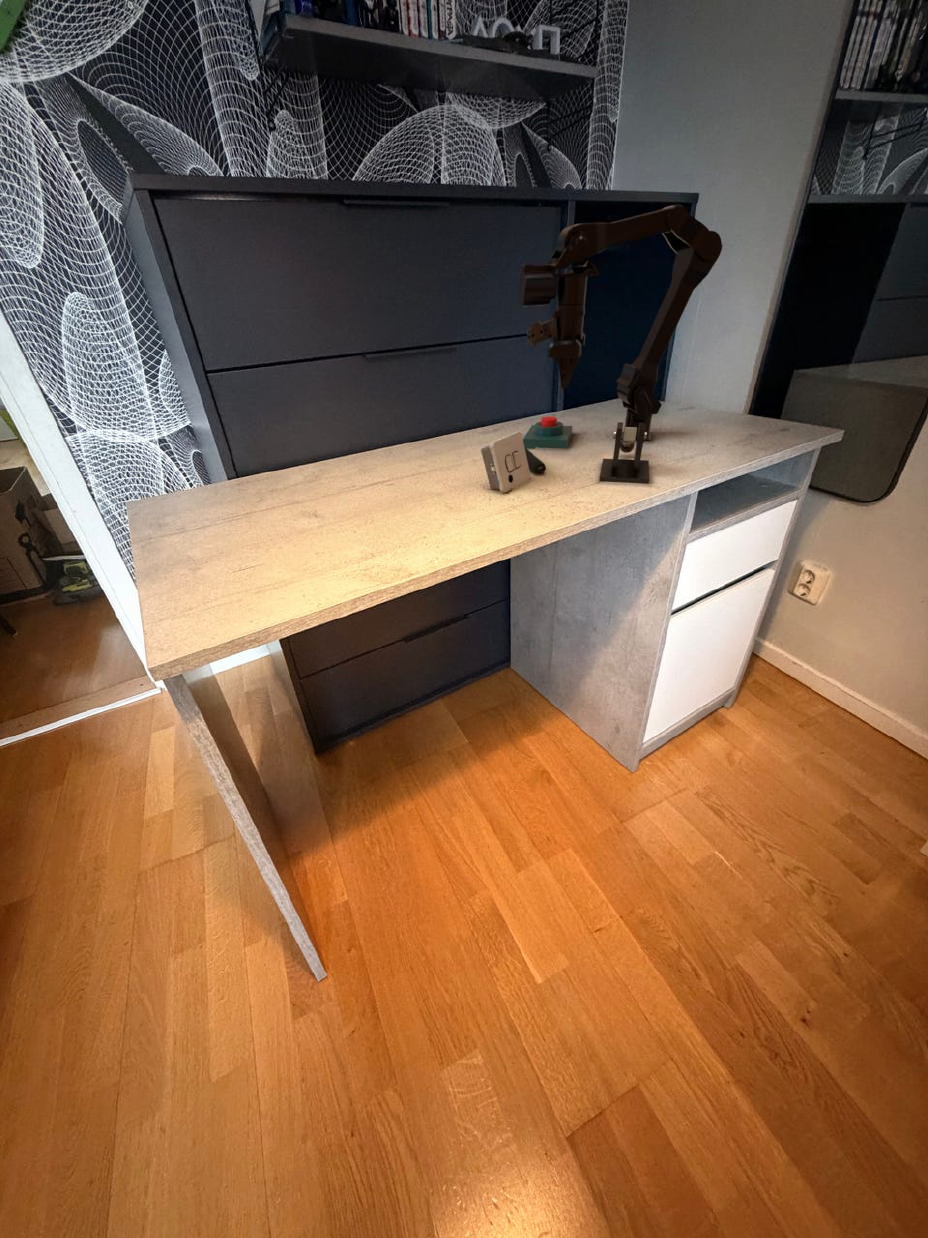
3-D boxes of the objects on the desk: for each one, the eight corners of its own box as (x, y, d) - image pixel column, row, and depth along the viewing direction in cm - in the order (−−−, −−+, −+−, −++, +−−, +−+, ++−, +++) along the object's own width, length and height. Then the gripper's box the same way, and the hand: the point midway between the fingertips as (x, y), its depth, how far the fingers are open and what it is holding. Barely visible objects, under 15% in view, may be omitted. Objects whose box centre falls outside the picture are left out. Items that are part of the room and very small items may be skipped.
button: (542, 423, 117) (542, 416, 116) (557, 424, 116) (557, 416, 115) (539, 427, 114) (540, 420, 113) (555, 428, 113) (555, 420, 112)
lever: (618, 453, 105) (620, 438, 105) (633, 453, 104) (635, 439, 104) (620, 442, 92) (622, 425, 91) (637, 442, 91) (639, 425, 91)
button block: (531, 433, 123) (532, 417, 121) (571, 435, 120) (573, 418, 118) (522, 448, 114) (523, 430, 111) (566, 450, 111) (567, 431, 109)
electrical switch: (504, 494, 92) (500, 443, 87) (482, 492, 95) (477, 442, 90) (531, 479, 97) (528, 431, 92) (509, 477, 100) (506, 430, 95)
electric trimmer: (532, 479, 98) (533, 463, 96) (506, 455, 110) (506, 441, 108) (549, 476, 99) (550, 461, 97) (521, 453, 111) (522, 439, 109)
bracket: (602, 464, 102) (607, 417, 97) (647, 466, 100) (655, 418, 95) (599, 482, 94) (604, 433, 89) (648, 485, 92) (657, 434, 86)
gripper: (536, 301, 107) (533, 379, 117) (523, 308, 93) (521, 397, 102) (588, 300, 105) (581, 380, 114) (583, 307, 90) (575, 397, 99)
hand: (564, 388), depth 107 cm, fingers closed
